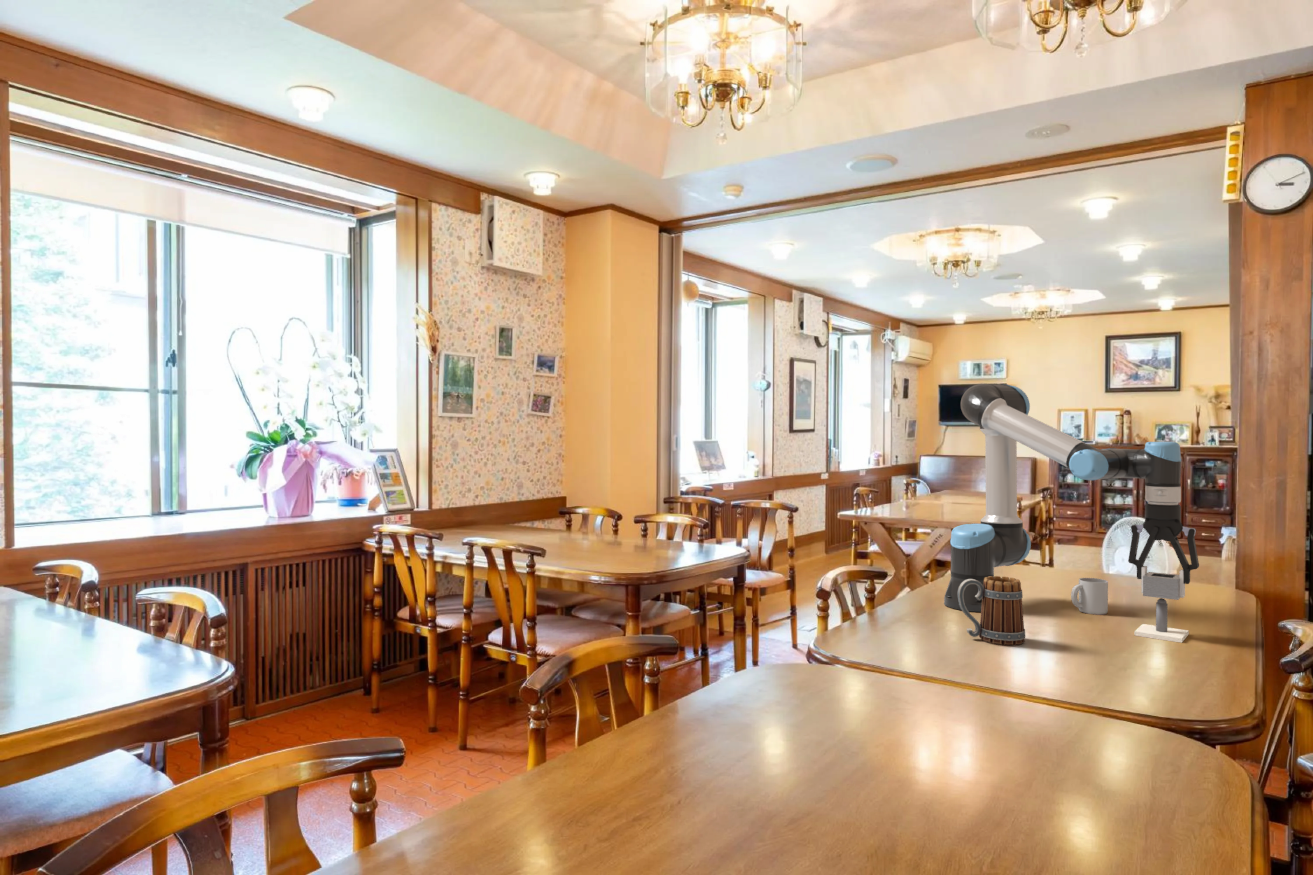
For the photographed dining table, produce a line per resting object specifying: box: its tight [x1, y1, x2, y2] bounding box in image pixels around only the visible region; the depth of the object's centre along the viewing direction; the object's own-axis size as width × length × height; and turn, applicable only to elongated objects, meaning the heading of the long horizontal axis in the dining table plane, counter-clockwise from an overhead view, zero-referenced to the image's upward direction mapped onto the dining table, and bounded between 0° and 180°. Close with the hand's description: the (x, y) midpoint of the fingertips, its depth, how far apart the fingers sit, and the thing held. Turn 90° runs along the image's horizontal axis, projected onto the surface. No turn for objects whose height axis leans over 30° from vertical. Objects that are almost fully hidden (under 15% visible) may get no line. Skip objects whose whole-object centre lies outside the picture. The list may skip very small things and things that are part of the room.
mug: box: [958, 575, 1026, 647], centre depth 194 cm, size 16×11×15 cm
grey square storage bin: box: [1142, 571, 1181, 601], centre depth 198 cm, size 7×7×5 cm
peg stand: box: [1134, 598, 1190, 643], centre depth 198 cm, size 10×10×9 cm
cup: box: [1070, 577, 1109, 616], centre depth 223 cm, size 7×10×9 cm
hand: (1163, 594), depth 198 cm, fingers closed on grey square storage bin, 7 cm apart
